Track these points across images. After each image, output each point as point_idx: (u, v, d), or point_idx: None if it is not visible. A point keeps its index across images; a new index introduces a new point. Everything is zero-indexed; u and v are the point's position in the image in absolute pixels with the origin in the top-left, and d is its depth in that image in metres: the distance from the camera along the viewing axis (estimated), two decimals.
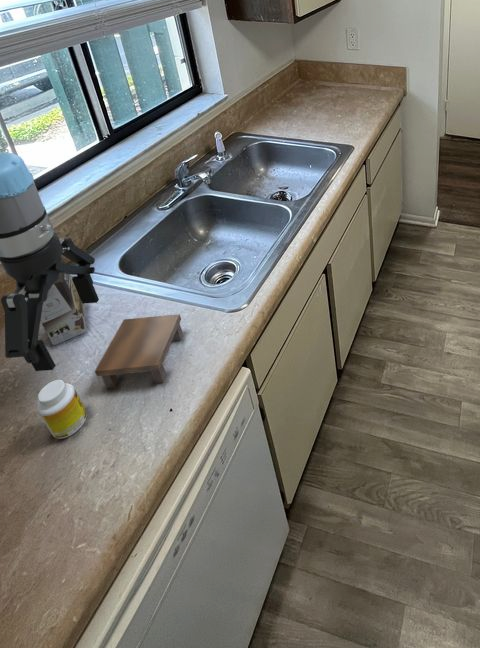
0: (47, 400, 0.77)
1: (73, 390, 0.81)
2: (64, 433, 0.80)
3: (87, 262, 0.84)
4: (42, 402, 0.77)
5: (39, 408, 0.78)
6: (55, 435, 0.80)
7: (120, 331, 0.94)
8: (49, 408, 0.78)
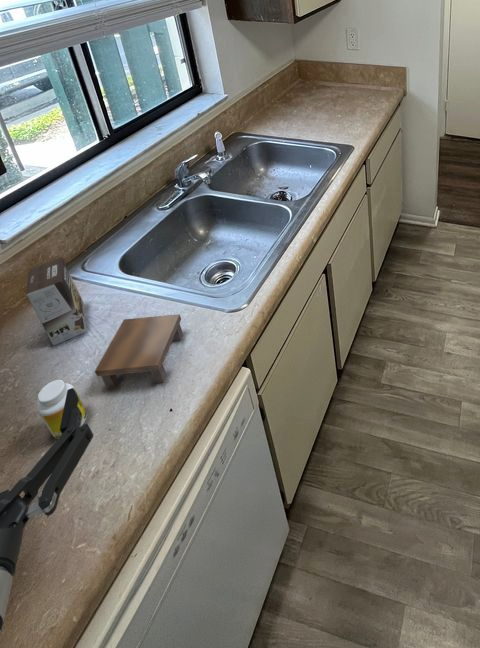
0: (47, 400, 0.77)
1: None
2: None
3: None
4: (42, 402, 0.77)
5: (39, 408, 0.78)
6: (55, 435, 0.80)
7: (120, 331, 0.94)
8: (49, 408, 0.78)
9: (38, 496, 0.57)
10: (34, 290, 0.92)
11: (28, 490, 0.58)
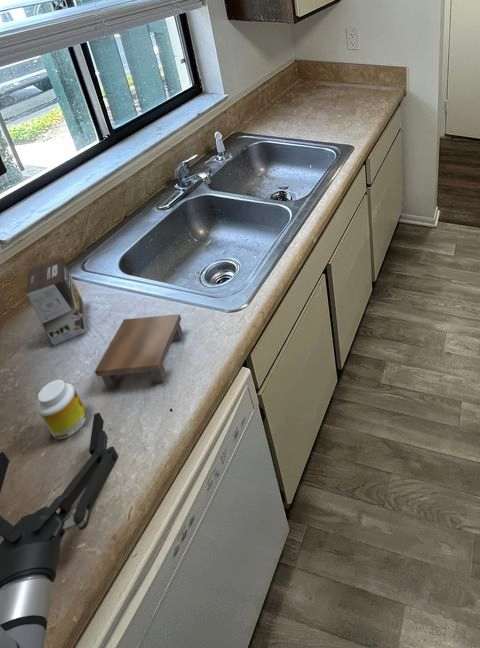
0: (47, 400, 0.77)
1: (73, 390, 0.81)
2: (64, 433, 0.80)
3: None
4: (42, 402, 0.77)
5: (39, 408, 0.78)
6: (55, 435, 0.80)
7: (120, 331, 0.94)
8: (49, 408, 0.78)
9: (73, 513, 0.65)
10: (34, 290, 0.92)
11: (63, 507, 0.66)
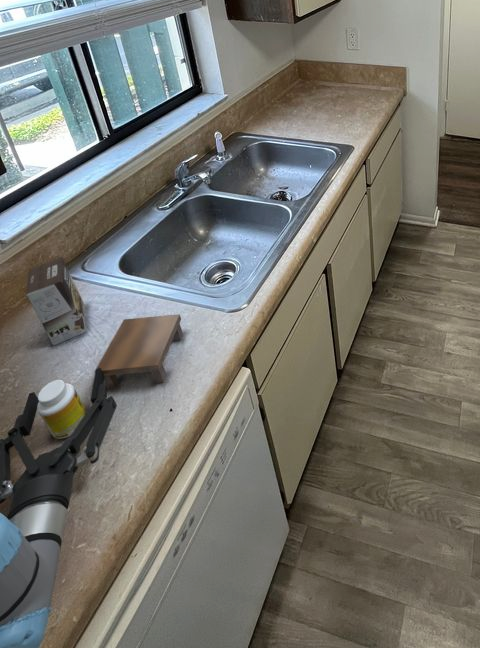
0: (47, 400, 0.77)
1: (73, 390, 0.81)
2: (64, 433, 0.80)
3: None
4: (42, 402, 0.77)
5: (39, 408, 0.78)
6: (55, 435, 0.80)
7: (120, 331, 0.94)
8: (49, 408, 0.78)
9: (84, 449, 0.72)
10: (34, 290, 0.92)
11: (74, 446, 0.74)
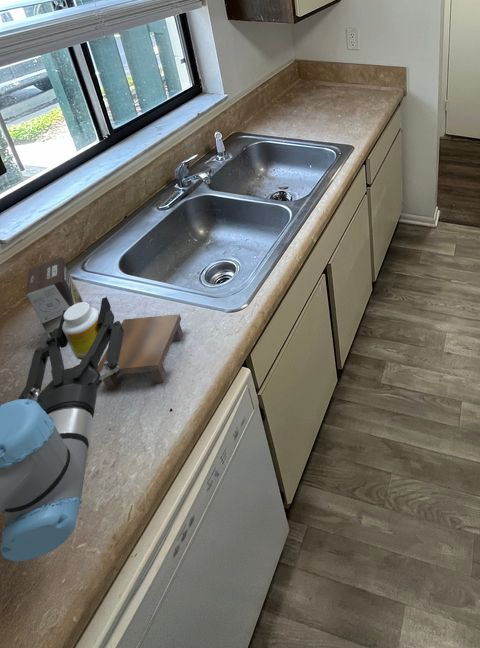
0: (72, 319, 0.78)
1: (97, 314, 0.81)
2: None
3: None
4: (67, 320, 0.78)
5: (64, 326, 0.79)
6: (78, 356, 0.81)
7: None
8: (74, 327, 0.78)
9: (105, 363, 0.73)
10: (34, 290, 0.92)
11: (92, 363, 0.75)
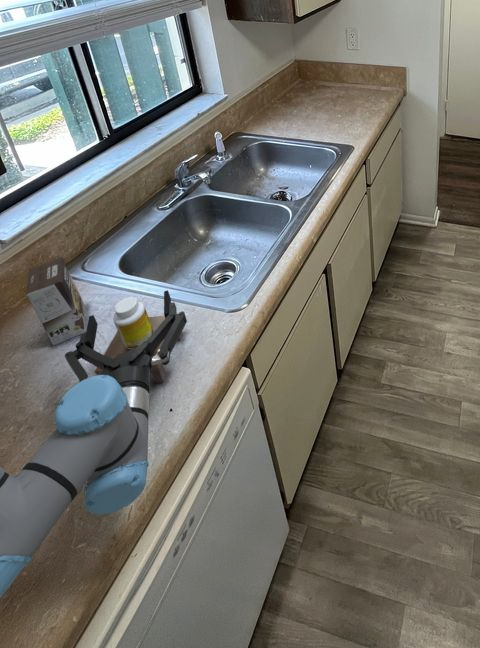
0: (123, 312, 0.86)
1: (143, 307, 0.90)
2: (135, 344, 0.89)
3: None
4: (118, 313, 0.86)
5: (115, 319, 0.87)
6: (127, 345, 0.89)
7: None
8: (124, 319, 0.87)
9: (158, 351, 0.81)
10: (34, 290, 0.92)
11: (149, 349, 0.82)
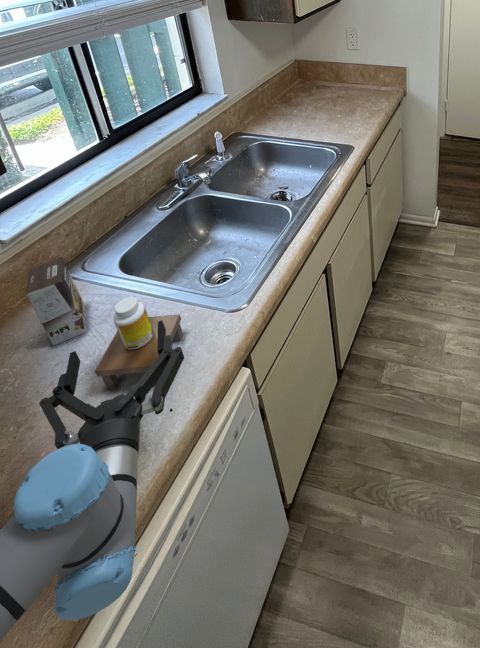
0: (123, 312, 0.86)
1: (143, 307, 0.90)
2: (135, 344, 0.89)
3: None
4: (118, 313, 0.86)
5: (115, 319, 0.87)
6: (127, 345, 0.89)
7: None
8: (124, 319, 0.87)
9: (149, 398, 0.69)
10: (34, 290, 0.92)
11: (139, 395, 0.70)
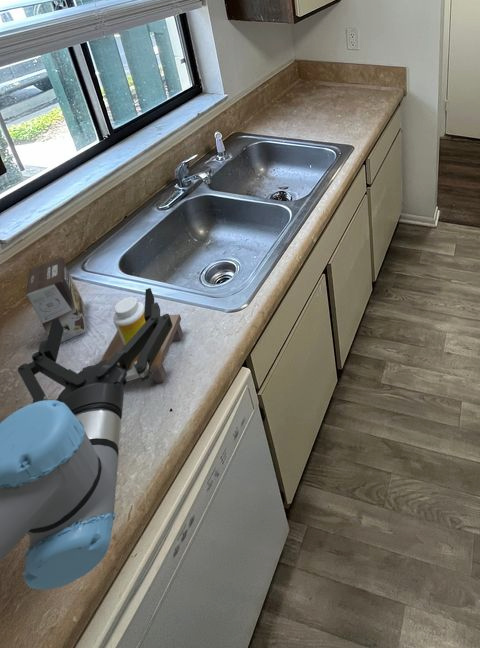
0: (123, 312, 0.86)
1: (143, 307, 0.90)
2: None
3: None
4: (118, 313, 0.86)
5: (115, 319, 0.87)
6: None
7: None
8: (124, 319, 0.87)
9: (134, 364, 0.65)
10: (34, 290, 0.92)
11: (124, 361, 0.66)
